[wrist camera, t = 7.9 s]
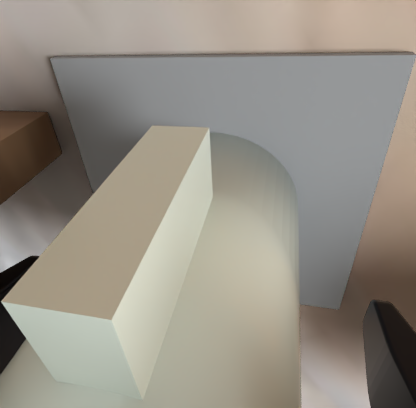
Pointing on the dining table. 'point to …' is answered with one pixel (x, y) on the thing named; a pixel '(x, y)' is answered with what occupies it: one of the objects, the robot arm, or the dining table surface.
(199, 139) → the cylinder with square knob
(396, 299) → the dining table surface
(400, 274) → the dining table surface
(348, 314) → the dining table surface
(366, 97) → the slate mat
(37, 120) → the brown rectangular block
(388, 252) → the dining table surface
